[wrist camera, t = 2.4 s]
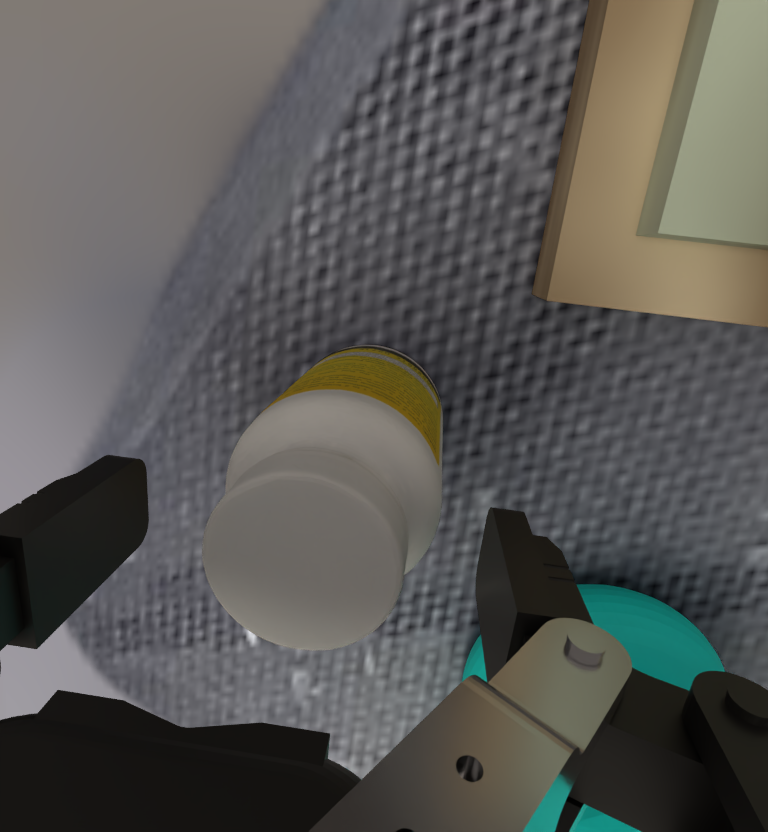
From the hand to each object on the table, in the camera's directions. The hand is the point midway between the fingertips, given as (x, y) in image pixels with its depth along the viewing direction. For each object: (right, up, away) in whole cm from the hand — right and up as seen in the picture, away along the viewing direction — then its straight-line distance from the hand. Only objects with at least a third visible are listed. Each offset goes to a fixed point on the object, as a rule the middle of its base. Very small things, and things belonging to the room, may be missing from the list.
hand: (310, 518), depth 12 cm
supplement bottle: (+1, +2, +7) cm, 8 cm away
